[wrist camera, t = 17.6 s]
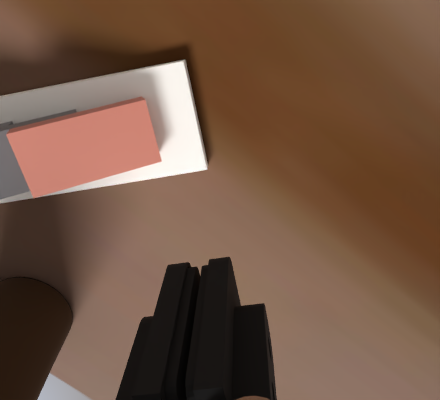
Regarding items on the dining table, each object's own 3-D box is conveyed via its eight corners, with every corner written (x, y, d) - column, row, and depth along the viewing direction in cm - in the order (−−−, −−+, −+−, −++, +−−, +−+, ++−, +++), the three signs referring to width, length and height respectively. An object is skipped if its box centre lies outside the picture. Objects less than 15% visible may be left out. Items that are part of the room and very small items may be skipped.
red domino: (145, 99, 30) (5, 134, 28) (162, 161, 32) (33, 198, 30) (141, 96, 31) (10, 128, 29) (157, 155, 34) (35, 189, 31)
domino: (75, 112, 30) (-67, 147, 28) (96, 172, 32) (-35, 209, 30) (75, 109, 32) (-58, 141, 30) (95, 165, 34) (-28, 200, 32)
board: (185, 59, 31) (183, 61, 30) (208, 164, 35) (207, 169, 34) (-117, 118, 34) (-129, 122, 33) (-66, 209, 38) (-75, 215, 37)
